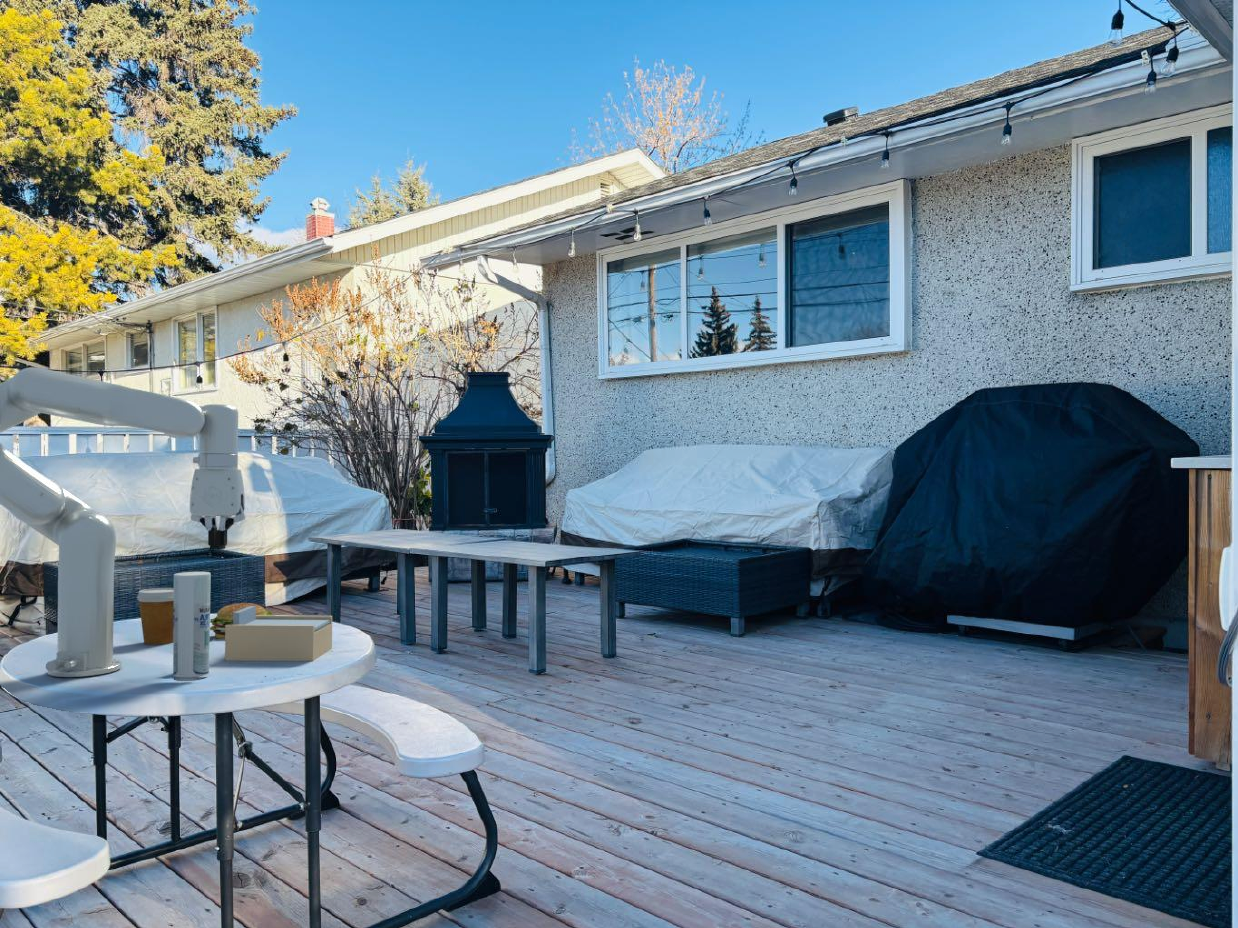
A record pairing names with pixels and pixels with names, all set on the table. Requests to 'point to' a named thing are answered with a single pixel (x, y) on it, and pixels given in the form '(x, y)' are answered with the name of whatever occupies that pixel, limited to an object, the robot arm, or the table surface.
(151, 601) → the disposable coffee cup
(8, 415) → the robot arm
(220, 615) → the food
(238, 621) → the lid
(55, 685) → the table surface
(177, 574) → the spray can
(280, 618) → the mailer box
